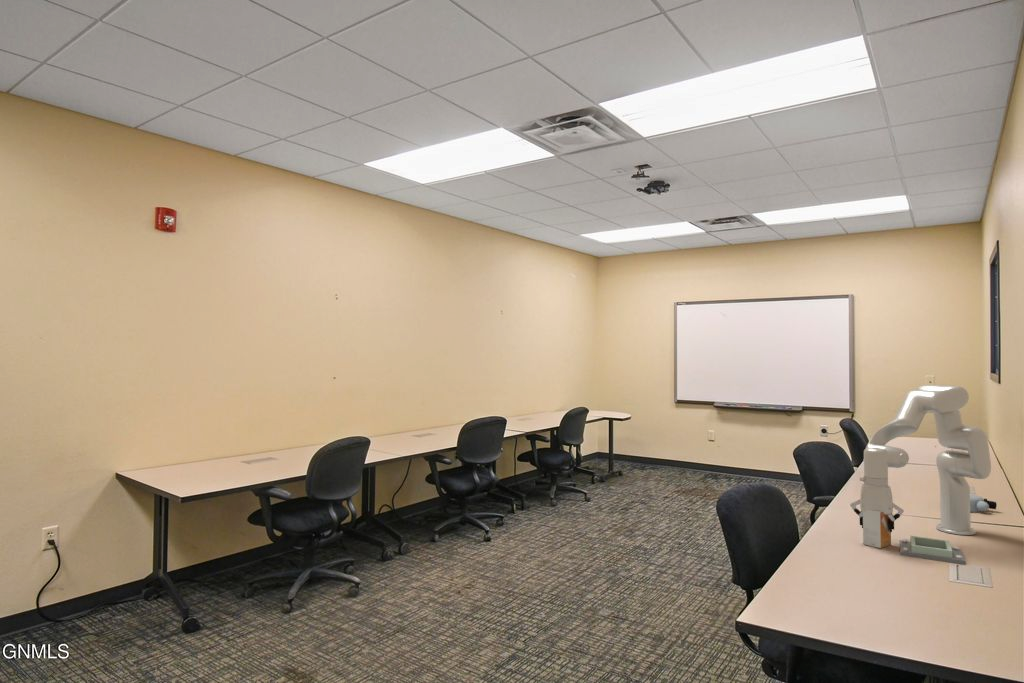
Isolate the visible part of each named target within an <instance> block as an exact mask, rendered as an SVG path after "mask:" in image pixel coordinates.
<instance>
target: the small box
mask: <svg viewBox="0 0 1024 683" xmlns="http://www.w3.org/2000/svg"><path fill="white" fill-rule="evenodd" d="M862 545H866V546H869V547H873V548H878V549H882V548H884V547H888V546H891V545H892V532H890V518H889V516H888V515H884V512H882V511H875V510H866V512H864V511H863V528H862Z"/></svg>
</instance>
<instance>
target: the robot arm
mask: <svg viewBox="0 0 1024 683" xmlns="http://www.w3.org/2000/svg"><path fill="white" fill-rule="evenodd" d="M969 398H970V397H969V392H968V391H967V389H965V388H964V387H963V386H961V385H950V384H949V385H948V384H947V385H944V384H943V385H942V384H922V385H920V386H918V387H917V388H916V389H914V390H910V391H908V392H907V393H906V394H905V395H904V397H903V399H902V401H901V403H900V405H899V406H898V409H897V411H896V413H895V415H894V417H893V419H892V420H891V421H889V422H888V423H886V424H884V425H883V426H881V427H880V428H878V429H877V430H876V431H875V432H874V433H873V434H871V436H870V439H869V441H868V443H867V444H866V446H865V449H864V450H863V476H859V481H860V482H863V483H862V484H861V487H860V499H858V500H856V501H853V502H852V503H850V504H849V505H850V507H851V508H852V510H853V512H855V513H856V515H858V517H859V525H860V526H861V529H863V511H864V512H866V510H875V511H882V512H884V515H888V516H889V518H890V532H891V533H893V531H894V530H895V521H896V520H899V518H900V517H901V516H902V515H903V514H904V511H905V510H904V509H903V508H901V507H900V506H899V505H897V504H896V503H894V502H893V493H892V489H891V486H890V485H889V472H888V471H889V468H892V469H893V468H896V469H898V468H900V469H901V468H904V467H906V466H907V465H908V464H909V462H910V457H909V454H908V452H907V451H906V450H905V449H903V448H900V447H897V446H890V445H887V444H888V443H889V442H890V441H892V440H895V439H897V438H900V437H904V436H908V435H911V434H914V433H916V432H918V430H919V428H920V426H921V424H922V421H923V420H924V417H925V416H926V414H929V413H930V414H933V416H934V423H935V428H936V429H935V430H936V436H937V441H938V443H939V445H940V446H942V447H944V448H948V449H953V450H948V449H947V450H943V451H940V452H939V453H938V454H937V456H936V461H935V463H936V467H937V471H938V476H939V494H940V495H939V500H940V502H939V503H940V504H939V505H940V523H937V524H935V525H936V526H935V528H936V529H937V530H938V531H940V532H943V533H947V534H953V535H960V536H973V535H976V533H977V532H976V529H975V528H972V527H971V512H970V493H971V489H970V485H969V482H968V481H967V479H966V478H969V479H975V480H985V479H987V478H988V477H989V476H990V475H991V472H992V462H991V455H990V447H989V440H988V436H987V435H986V433H985V431H984V430H983V429H982V428H980V427H977V426H974V425H973V426H972V425H964V424H963V420H962V417H961V416H962V415H961V411H960V409H962V408H964V407H965V406H966V405H967V404H968V402H969ZM958 450H960V451H958ZM961 450H962V451H961ZM966 451H967V452H966ZM858 505H860V510H859V509H858V508H857V506H858ZM894 509H895V510H896V511H897V512H896V513H895V514H893V512H894Z"/></svg>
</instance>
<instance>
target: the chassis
mask: <svg viewBox="0 0 1024 683" xmlns="http://www.w3.org/2000/svg"><path fill="white" fill-rule="evenodd" d="M899 551H900V552H899V553H900V556H904V557H905V556H906V557H912V558H913V557H914V558H918V559H919V558H920V559H925V560H927V559H928V560H933V561H940V562H945V563H953V564H957V565H959V564H960V565H966V560H965V557H964V554H963V552H962V549H961V548H959V546H951V543H950V541H949V540H945V539H939V538H932V537H931V538H929V537H922V536H916V535H910V541H909V540H908V539H899Z"/></svg>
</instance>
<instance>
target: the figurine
mask: <svg viewBox="0 0 1024 683" xmlns="http://www.w3.org/2000/svg"><path fill="white" fill-rule="evenodd" d="M990 509H992V510H996V509H997V502H996V501H992V500H988V499H987V498H984V497H982V496H979V495H976V494H974V493H972V492H970V513H972V512H973V513H980V511H981V512H987V511H988V510H990Z"/></svg>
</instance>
